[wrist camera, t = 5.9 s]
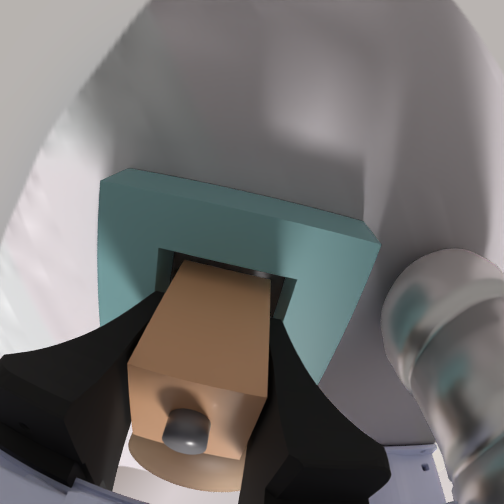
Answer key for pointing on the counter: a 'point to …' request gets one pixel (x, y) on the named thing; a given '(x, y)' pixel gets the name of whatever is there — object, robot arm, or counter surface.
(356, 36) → the counter surface
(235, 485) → the bobbin
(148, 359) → the plug
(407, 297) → the plastic bottle
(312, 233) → the notch board
